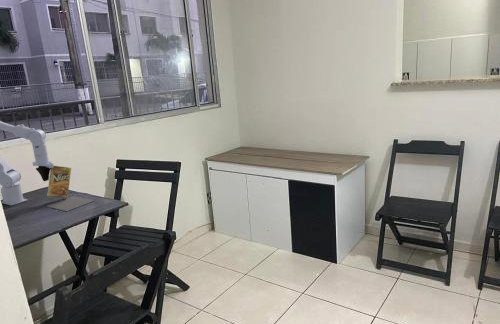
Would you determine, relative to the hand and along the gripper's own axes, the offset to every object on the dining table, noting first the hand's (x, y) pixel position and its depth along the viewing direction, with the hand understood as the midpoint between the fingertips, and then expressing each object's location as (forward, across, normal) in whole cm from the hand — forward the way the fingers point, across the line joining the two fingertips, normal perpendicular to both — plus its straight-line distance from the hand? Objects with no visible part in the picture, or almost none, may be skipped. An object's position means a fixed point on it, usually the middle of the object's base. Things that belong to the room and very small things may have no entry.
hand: (46, 180), depth 184 cm
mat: (+10, -17, 0) cm, 20 cm away
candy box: (+8, -6, 0) cm, 10 cm away
